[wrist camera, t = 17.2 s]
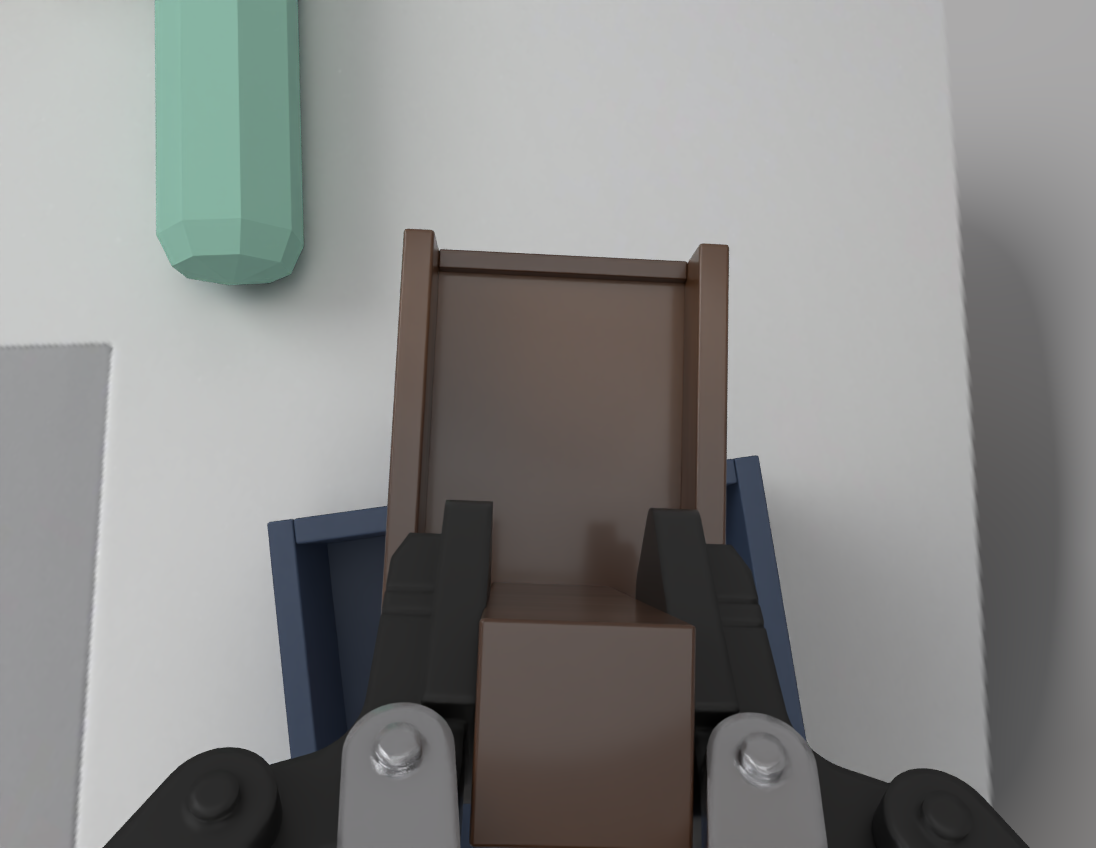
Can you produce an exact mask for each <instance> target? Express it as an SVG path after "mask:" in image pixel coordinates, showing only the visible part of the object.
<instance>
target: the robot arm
mask: <svg viewBox="0 0 1096 848" xmlns="http://www.w3.org/2000/svg"><path fill="white" fill-rule="evenodd" d="M492 525H493V501H470V500H446V502H445V509H444V517H443V525H442V533H441V534H436V533H409V534H408V535H407V537H406V538H405V539H404V541H403V542H402V543H401V545H400V546H399V547H398V549H397V550H396V551H395V553H394V554H393V555H392V557H391V560H390V566H389V571H388V577H387V582H386V591H385V593H384V599H383V604H382V614H381V616H380V621H379V627H378V632H377V638H376V643H375V649H374V654H373V660H372V665H371V671H370V677H369V682H368V688H367V693H366V699H365V702H364V706H363V709H362V711H361V713H360V715H359V717H358V718H357V720H356V721H355V723H354V724H353V726H352V727H351V728H350V729H349V730H348V731H347V732H346V733H345V734H344V735H343V736H342V737H340V738H339V739H338V740H336V741H335V742H333V743H332V744H330V745H329V746H327V747H325V748H323V749H321V750H318V751H316V752H313V753H310V754H307V755H303V756H299V757H296V758H292V759H289V760H285V761H281V762H278V763H274V764H271V765H269V764H268V763H267V762H266V761H265V760H264V759H263V758H262V757H260V756H259V755H257V754H256V753H254V752H251V751H249V750H246V749H241V748H233V747H226V748H217V749H213V750H209V751H206V752H203V753H201V754H198V755H196V756H194V757H193V758H191V759H189V760H187V761H186V762H184V763H183V764H182V765H180V766H179V767H178V768H177V769H176V770H175V771H174V772H173V773H171V774H170V775H169V777H168V778H167V779H166V780H165V781H164V782H163V783H162V784H161V785H160V786H159V787H158V788H157V790H156V791H155V792H154V793H153V794H152V795H151V796H150V797H149V798H148V799H147V800H146V801H145V803H144V804H143V805H142V806H141V807H140V808H139V809H138V810H137V811H136V812H135V813H134V814H133V816H132V817H131V818H130V819H129V820H128V821H127V822H126V823H125V824H124V825H123V826H122V827H121V829H120V830H119V831H118V832H117V833H116V834H115V835H114V836H113V837H112V838H111V839H110V840H109V842H108V843H107V844H106V845H105V846H104V847H103V848H460V842H461V829H462V815H463V804H471V791H472V769H473V747H474V725H475V704H476V682H477V660H478V638H479V622H480V619H481V616H482V613H483V610H484V608H486V606H487V603H488V600H489V596H490V589H491V561H492ZM635 599H637V600H639V601H641V602H643V603H645V604H648V605H650V606H652V607H654V608H656V609H658V610H661V611H663V612H665V613H667V614H669V615H671V616H674V617H676V618H678V619H680V620H682V621H685V622H687V623H689V624H691V625H693V626H695V629H696V663H695V729H694V795H693V847H692V848H1029V847H1028V845H1027V844H1026V843H1025V842H1024V841H1023V840H1022V839H1021V838H1020V837H1019V836H1018V835H1017V834H1016V833H1015V831H1014V830H1013V829H1012V828H1011V827H1010V826H1009V825H1008V824H1007V823H1006V822H1005V821H1004V820H1003V818H1002V817H1001V816H1000V815H999V814H998V813H997V812H996V811H995V810H994V809H993V808H992V807H991V806H990V804H989V803H988V802H987V801H986V800H985V799H984V798H983V797H982V796H981V795H980V794H979V793H978V792H977V791H976V790H975V789H973V788H972V787H971V786H969V785H968V784H967V783H965V782H963V781H962V780H960V779H958V778H957V777H954V776H952V775H950V774H948V773H945V772H942V771H938V770H933V769H912V770H908V771H905V772H903V773H901V774H899V775H898V776H896V777H895V778H894V779H893V780H892V781H891V783H887V782H884V781H881V780H878V779H875V778H872V777H869V776H866V775H863V774H860V773H857V772H854V771H851V770H848V769H845V768H842V767H840V766H837V765H835V764H833V763H831V762H829V761H827V760H826V759H824V758H823V757H821V756H820V755H818V754H817V753H815V752H814V751H813V750H812V749H811V748H810V747H809V745H808V743H807V742H806V741H805V740H804V738H803V737H802V736H801V735H800V734H799V733H798V732H797V731H796V730H795V729H794V728H793V726H792V724H791V722H790V720H789V717H788V714H787V711H786V707H785V703H784V699H783V695H782V691H781V687H780V683H779V679H778V675H777V671H776V667H775V663H774V659H773V655H772V651H771V647H770V643H769V639H768V635H767V631H766V628H764V619H763V615H762V611H761V607H760V605H758V595H757V591H756V587H755V583H754V579H753V575H752V571H751V569H750V568H749V567H748V566H747V564H746V563H745V562H744V560H743V559H742V558H741V556H740V555H739V554H738V553H737V551H736V550H735V549H734V547H733V546H732V545H726V544H706V541H705V536H704V531H703V526H702V521H701V517H700V513H699V511H698V510H696V509H670V508H650V509H649V511H648V514H647V519H646V525H645V531H644V537H643V543H642V549H641V555H640V560H639V566H638V572H637V579H636V597H635Z"/></svg>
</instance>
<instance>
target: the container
mask: <svg viewBox="0 0 1096 848" xmlns="http://www.w3.org/2000/svg"><path fill="white" fill-rule="evenodd" d="M155 95H156V235H157V237H158V239H159V241H160V243H161V245H162V247H163V249H164V251H165V253H166V255H167V257H168V259H169V261H170V263H171V265H172V267H174V268H175V269H176V270H178V271H179V272H180V273H181V274H183V275H184V276H185V277H187V278H189V279H195V280H201V281H207V282H213V283H219V284H225V285H238V284H263V283H270V282H273V281H275V280H278V279H280V278H283V277H285V276H288V275H290V274H291V273H292V271H293V269H294V266H295V264H296V262H297V260H298V258H299V256H300V254H301V251H302V249H303V247H304V237H303V195H302V154H301V113H300V72H299V31H298V0H155Z"/></svg>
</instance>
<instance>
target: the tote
mask: <svg viewBox="0 0 1096 848" xmlns="http://www.w3.org/2000/svg"><path fill="white" fill-rule="evenodd" d="M386 522H387V506H384V507H376V508H369V509H362V510H355V511H347V512H340V513H333V514H325V515H318V516H311V517H303V518H296V519H295V520H294V519H289V520H281V521H274V522H269V523H268V525H267V526H268V536H269V546H270V556H271V566H272V575H273V585H274V595H275V605H276V615H277V625H278V635H279V645H280V654H281V664H282V674H283V684H284V694H285V704H286V714H287V724H288V733H289V743H290V753H291V759H292V758H296V757H299V756H303V755H307V754H310V753H313V752H316V751H318V750H321V749H323V748H325V747H327V746H329V745H330V744H332V743H333V742H335V741H336V740H338V739H339V738H340V737H342V736H343V735H344V734H345V733H346V732H347V731H348V730H349V729H350V728H351V727H352V726H353V724H354V723H355V721H356V720H357V718H358V717H359V715H360V713H361V711H362V709H363V706H364V702H365V699H366V693H367V688H368V682H369V677H370V671H371V665H372V660H373V654H374V649H375V643H376V638H377V632H378V627H379V621H380V616H381V605H382V589H383V572H384V555H385V539H386ZM726 545H732V546H733V547H734V549H735V550H736V551H737V553H738V554H739V555H740V556H741V558H742V559H743V560H744V562H745V563H746V564H747V566H748V567H749V568H750V569H751V571H752V575H753V579H754V583H755V587H756V591H757V595H758V605H760V607H761V611H762V615H763V619H764V628H766V631H767V635H768V639H769V643H770V647H771V651H772V655H773V659H774V663H775V667H776V671H777V675H778V679H779V683H780V687H781V691H782V695H783V699H784V703H785V707H786V711H787V714H788V717H789V720H790V722H791V724H792V726H793V728H794V729H795V730H796V731H797V732H798V733H799V734H800V735H801V736H802V737H803V738H804V740H805V741H806V736H805V730H804V724H803V718H802V713H801V707H800V701H799V695H798V689H797V683H796V677H795V671H794V665H793V659H792V653H791V647H790V641H789V635H788V629H787V623H786V617H785V611H784V605H783V599H782V593H781V588H780V582H779V576H778V570H777V564H776V558H775V552H774V546H773V540H772V534H771V528H770V522H769V516H768V510H767V504H766V498H765V492H764V486H763V480H762V474H761V468H760V463H759V457H758V456H748V457H741V458H735V459H727V470H726ZM470 813H471V804H463V815H462V829H461V842H460V848H484V847H473V846H471V845H470V843H469V834H470Z"/></svg>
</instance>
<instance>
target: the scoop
mask: <svg viewBox="0 0 1096 848" xmlns="http://www.w3.org/2000/svg"><path fill="white" fill-rule="evenodd" d="M728 290H729V247H728V245H721V244H700V245H699V247H698V248H697V250H696V251H695V253H694V254H693V256H692V257H691V259H690V260H689V262H688V263H687V262H685V261H666V260H646V259H626V258H606V257H586V256H565V255H545V254H525V253H505V252H485V251H465V250H445V249H441V250H440V251H439V250H438V246H437V241H436V237H435V233H434V231H432V230H422V229H405V231H404V238H403V254H402V271H401V288H400V305H399V321H398V338H397V355H396V371H395V388H394V405H393V422H392V438H391V455H390V472H389V488H388V505H387V522H386V539H385V555H384V572H383V589H382V604H383V599H384V593H385V591H386V582H387V577H388V571H389V566H390V560H391V557H392V555H393V554H394V553H395V551H396V550H397V549H398V547H399V546H400V545H401V543H402V542H403V541H404V539H405V538H406V537H407V535H408V534H409V533H436V534H441V533H442V525H443V517H444V509H445V502H446V500H470V501H493V525H492V561H491V589H490V596H489V600H488V603H487V606H486V608H484V610H483V613H482V616H481V619H480V622H479V638H478V660H477V682H476V704H475V725H474V747H473V769H472V791H471V813H470V834H469V843H470V845H471V846H473V847H484V848H692V847H693V795H694V729H695V663H696V629H695V626H693V625H691V624H689V623H687V622H685V621H682V620H680V619H678V618H676V617H674V616H671V615H669V614H667V613H665V612H663V611H661V610H658V609H656V608H654V607H652V606H650V605H648V604H645V603H643V602H641V601H639V600H637V599H635V597H636V579H637V572H638V566H639V560H640V555H641V549H642V543H643V537H644V531H645V525H646V519H647V514H648V511H649V509H650V508H670V509H696V510H698V511H699V513H700V517H701V521H702V526H703V531H704V536H705V541H706V544H726V470H727V380H728ZM381 614H382V605H381Z"/></svg>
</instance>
